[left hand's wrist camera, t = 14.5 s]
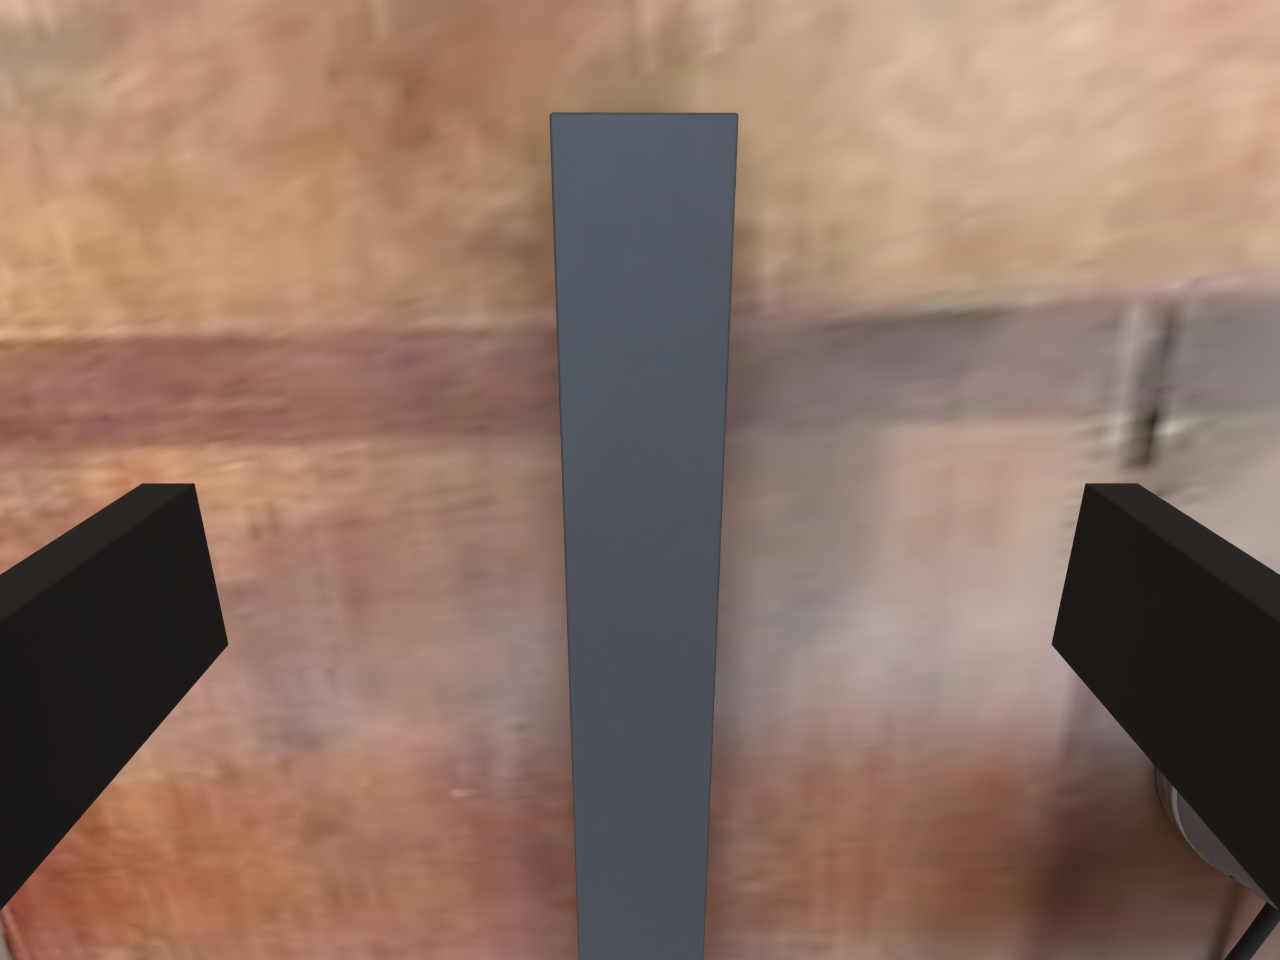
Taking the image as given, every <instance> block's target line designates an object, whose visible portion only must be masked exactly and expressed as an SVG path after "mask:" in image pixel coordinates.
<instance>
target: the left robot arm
mask: <svg viewBox="0 0 1280 960" xmlns="http://www.w3.org/2000/svg"><path fill="white" fill-rule="evenodd" d="M227 646H228V640H227V636H226V631H225V626H224V621H223V617H222V612H221V607H220V603H219V598H218V593H217V588H216V584H215V579H214V574H213V569H212V565H211V560H210V555H209V550H208V546H207V541H206V536H205V531H204V527H203V522H202V517H201V512H200V508H199V503H198V498H197V493H196V489H195V484H141V485H139V486H138V487H136V488H135V489H133V490H132V491H130V492H128V493H127V494H125V495H124V496H122V497H121V498H119V499H118V500H116V501H114V502H113V503H111V504H110V505H108V506H107V507H105V508H104V509H102V510H100V511H99V512H97V513H96V514H94V515H93V516H91V517H89V518H88V519H86V520H85V521H83V522H82V523H80V524H79V525H77V526H75V527H74V528H72V529H71V530H69V531H68V532H66V533H65V534H63V535H61V536H60V537H58V538H57V539H55V540H54V541H52V542H51V543H49V544H47V545H46V546H44V547H43V548H41V549H40V550H38V551H37V552H35V553H33V554H32V555H30V556H29V557H27V558H26V559H24V560H23V561H21V562H19V563H18V564H16V565H15V566H13V567H12V568H10V569H9V570H7V571H5V572H4V573H2V574H1V575H0V911H1V909H2V908H3V907H4V906H5V905H6V904H7V902H8V901H9V900H10V899H11V898H12V897H13V895H14V894H15V893H16V892H17V891H18V890H19V888H20V887H21V886H22V885H23V884H24V883H25V881H26V880H27V879H28V878H29V877H30V876H31V874H32V873H33V872H34V871H35V870H36V869H37V867H38V866H39V865H40V864H41V863H42V862H43V860H44V859H45V858H46V857H47V856H48V855H49V853H50V852H51V851H52V850H53V849H54V848H55V846H56V845H57V844H58V843H59V842H60V841H61V839H62V838H63V837H64V836H65V835H66V834H67V832H68V831H69V830H70V829H71V828H72V827H73V825H74V824H75V823H76V822H77V821H78V820H79V818H80V817H81V816H82V815H83V814H84V813H85V811H86V810H87V809H88V808H89V807H90V806H91V804H92V803H93V802H94V801H95V800H96V799H97V797H98V796H99V795H100V794H101V793H102V792H103V790H104V789H105V788H106V787H107V786H108V785H109V783H110V782H111V781H112V780H113V779H114V778H115V776H116V775H117V774H118V773H119V772H120V771H121V769H122V768H123V767H124V766H125V765H126V764H127V762H128V761H129V760H130V759H131V758H132V756H133V755H134V754H135V753H136V752H137V751H138V749H139V748H140V747H141V746H142V745H143V744H144V742H145V741H146V740H147V739H148V738H149V737H150V735H151V734H152V733H153V732H154V731H155V730H156V728H157V727H158V726H159V725H160V724H161V723H162V721H163V720H164V719H165V718H166V717H167V716H168V714H169V713H170V712H171V711H172V710H173V709H174V707H175V706H176V705H177V704H178V703H179V702H180V700H181V699H182V698H183V697H184V696H185V695H186V693H187V692H188V691H189V690H190V689H191V688H192V686H193V685H194V684H195V683H196V682H197V681H198V679H199V678H200V677H201V676H202V675H203V674H204V672H205V671H206V670H207V669H208V668H209V667H210V665H211V664H212V663H213V662H214V661H215V660H216V658H217V657H218V656H219V655H220V654H221V653H222V651H223V650H224V649H225V648H226V647H227ZM1052 646H1053V647H1054V648H1055V649H1056V650H1057V651H1058V653H1059V654H1060V655H1061V656H1062V657H1063V658H1064V660H1065V661H1066V662H1067V663H1068V664H1069V665H1070V667H1071V668H1072V669H1073V670H1074V671H1075V672H1076V674H1077V675H1078V676H1079V677H1080V678H1081V679H1082V681H1083V682H1084V683H1085V684H1086V685H1087V686H1088V688H1089V689H1090V690H1091V691H1092V692H1093V693H1094V695H1095V696H1096V697H1097V698H1098V699H1099V700H1100V702H1101V703H1102V704H1103V705H1104V706H1105V707H1106V709H1107V710H1108V711H1109V712H1110V713H1111V714H1112V716H1113V717H1114V718H1115V719H1116V720H1117V721H1118V723H1119V724H1120V725H1121V726H1122V727H1123V728H1124V730H1125V731H1126V732H1127V733H1128V734H1129V735H1130V737H1131V738H1132V739H1133V740H1134V741H1135V742H1136V744H1137V745H1138V746H1139V747H1140V748H1141V749H1142V751H1143V752H1144V753H1145V754H1146V755H1147V756H1148V758H1149V759H1150V760H1151V761H1152V762H1153V764H1154V765H1155V766H1156V784H1157V790H1158V795H1159V798H1160V801H1161V804H1162V806H1163V808H1164V810H1165V812H1166V814H1167V816H1168V817H1169V819H1170V820H1171V822H1172V823H1173V824H1174V826H1175V827H1176V828H1177V829H1178V831H1179V832H1180V833H1181V834H1182V836H1183V837H1184V838H1185V839H1186V840H1187V842H1188V843H1189V844H1190V845H1191V847H1192V848H1193V849H1194V850H1195V851H1196V852H1197V853H1198V855H1199V856H1201V857H1202V858H1203V859H1204V860H1205V861H1206V862H1207V863H1209V864H1210V865H1212V866H1213V867H1214V868H1216V869H1217V870H1219V871H1220V872H1221V873H1223V874H1225V875H1226V876H1228V877H1230V878H1232V879H1233V880H1235V881H1237V882H1239V883H1240V884H1242V885H1244V886H1245V887H1247V888H1248V889H1250V890H1251V891H1252V892H1254V893H1255V894H1256V895H1258V896H1259V897H1261V898H1262V899H1263V900H1265V901H1266V904H1265V905H1264V907H1263V908H1262V910H1261V911H1260V913H1259V914H1258V915H1257V917H1256V918H1255V920H1254V921H1253V922H1252V924H1251V925H1250V927H1249V928H1248V929H1247V931H1246V932H1245V934H1244V935H1243V936H1242V938H1241V939H1240V940H1239V942H1238V943H1237V944H1236V946H1235V947H1234V948H1233V949H1232V951H1231V952H1230V953H1229V955H1228V956H1227V957H1226V958H1225V960H1250V959H1251V958H1252V956H1253V955H1254V954H1255V953H1256V951H1257V950H1258V949H1259V947H1260V946H1261V945H1262V944H1263V942H1264V941H1265V940H1266V938H1267V937H1268V935H1269V934H1270V933H1271V931H1272V930H1273V929H1274V927H1275V926H1276V925H1277V923H1278V922H1279V920H1280V575H1279V574H1278V573H1276V572H1275V571H1273V570H1271V569H1270V568H1268V567H1267V566H1265V565H1264V564H1262V563H1261V562H1259V561H1257V560H1256V559H1254V558H1253V557H1251V556H1250V555H1248V554H1247V553H1245V552H1243V551H1242V550H1240V549H1239V548H1237V547H1236V546H1234V545H1233V544H1231V543H1229V542H1228V541H1226V540H1225V539H1223V538H1222V537H1220V536H1219V535H1217V534H1215V533H1214V532H1212V531H1211V530H1209V529H1208V528H1206V527H1205V526H1203V525H1201V524H1200V523H1198V522H1197V521H1195V520H1194V519H1192V518H1191V517H1189V516H1187V515H1186V514H1184V513H1183V512H1181V511H1180V510H1178V509H1176V508H1175V507H1173V506H1172V505H1170V504H1169V503H1167V502H1166V501H1164V500H1162V499H1161V498H1159V497H1158V496H1156V495H1155V494H1153V493H1152V492H1150V491H1148V490H1147V489H1145V488H1144V487H1142V486H1141V485H1139V484H1085V489H1084V493H1083V498H1082V503H1081V508H1080V512H1079V517H1078V522H1077V527H1076V531H1075V536H1074V541H1073V546H1072V550H1071V555H1070V560H1069V565H1068V569H1067V574H1066V579H1065V584H1064V588H1063V593H1062V598H1061V602H1060V607H1059V612H1058V617H1057V621H1056V626H1055V631H1054V636H1053V640H1052Z"/></svg>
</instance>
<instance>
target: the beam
mask: <svg viewBox="0 0 1280 960" xmlns="http://www.w3.org/2000/svg"><path fill="white" fill-rule="evenodd" d="M737 137H738V114H737V113H550V142H551V171H552V199H553V228H554V257H555V286H556V314H557V343H558V372H559V401H560V430H561V458H562V487H563V516H564V545H565V573H566V602H567V631H568V660H569V688H570V717H571V746H572V775H573V804H574V832H575V861H576V890H577V919H578V947H579V960H703V955H704V931H705V907H706V883H707V859H708V835H709V811H710V787H711V763H712V739H713V715H714V691H715V667H716V643H717V619H718V594H719V570H720V546H721V522H722V498H723V474H724V450H725V426H726V402H727V378H728V354H729V330H730V306H731V282H732V258H733V234H734V209H735V185H736V161H737Z"/></svg>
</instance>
